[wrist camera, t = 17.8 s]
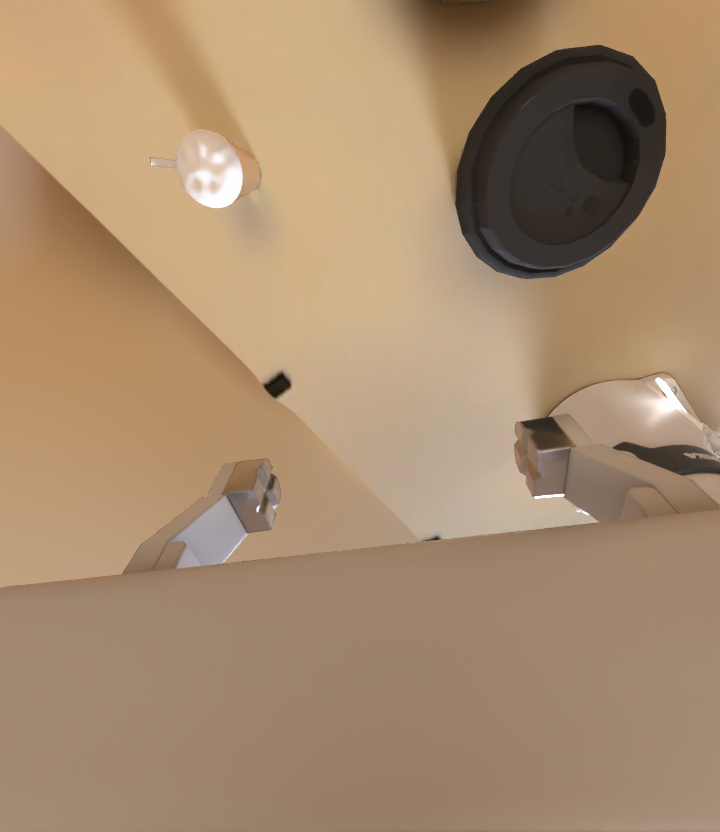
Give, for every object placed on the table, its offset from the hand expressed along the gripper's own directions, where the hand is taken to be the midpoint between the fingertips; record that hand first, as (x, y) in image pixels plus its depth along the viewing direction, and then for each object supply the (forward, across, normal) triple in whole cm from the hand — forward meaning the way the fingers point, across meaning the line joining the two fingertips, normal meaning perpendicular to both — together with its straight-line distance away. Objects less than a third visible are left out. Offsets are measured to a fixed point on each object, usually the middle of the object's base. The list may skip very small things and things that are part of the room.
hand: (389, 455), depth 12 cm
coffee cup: (+29, -11, -6) cm, 32 cm away
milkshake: (+29, +11, -10) cm, 33 cm away
